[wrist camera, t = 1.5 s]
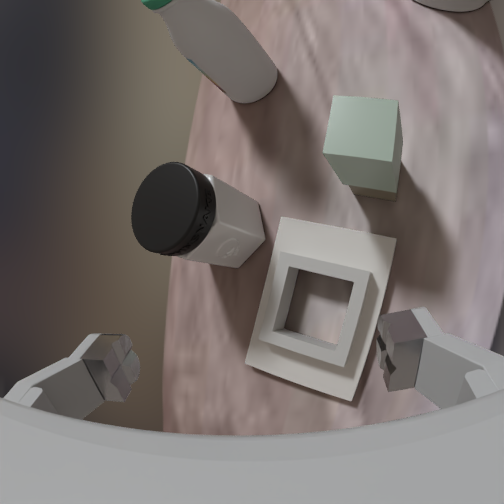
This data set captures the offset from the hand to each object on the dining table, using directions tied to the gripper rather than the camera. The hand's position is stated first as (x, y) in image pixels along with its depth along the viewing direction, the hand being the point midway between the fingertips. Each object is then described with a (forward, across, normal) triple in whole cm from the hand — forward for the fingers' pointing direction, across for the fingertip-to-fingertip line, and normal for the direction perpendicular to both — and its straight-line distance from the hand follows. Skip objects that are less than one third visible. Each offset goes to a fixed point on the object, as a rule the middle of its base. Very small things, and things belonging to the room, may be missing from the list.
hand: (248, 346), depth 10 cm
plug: (+24, -11, -1) cm, 26 cm away
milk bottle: (+36, +1, -14) cm, 39 cm away
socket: (+20, -3, +10) cm, 23 cm away
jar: (+28, +5, +4) cm, 28 cm away
